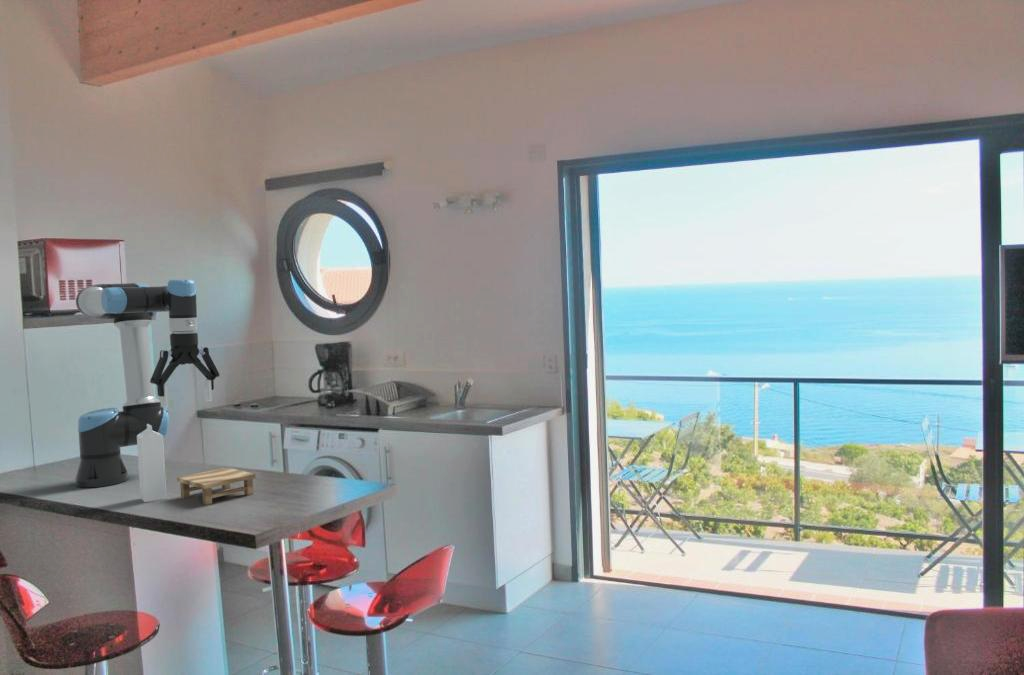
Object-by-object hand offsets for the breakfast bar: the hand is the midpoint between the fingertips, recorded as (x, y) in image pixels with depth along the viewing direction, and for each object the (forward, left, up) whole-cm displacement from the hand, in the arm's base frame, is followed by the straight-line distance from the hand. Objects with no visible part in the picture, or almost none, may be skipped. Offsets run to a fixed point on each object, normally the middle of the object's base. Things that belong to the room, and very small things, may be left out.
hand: (187, 404), depth 233 cm
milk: (-7, -8, -28) cm, 30 cm away
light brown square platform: (+6, +5, -27) cm, 28 cm away
